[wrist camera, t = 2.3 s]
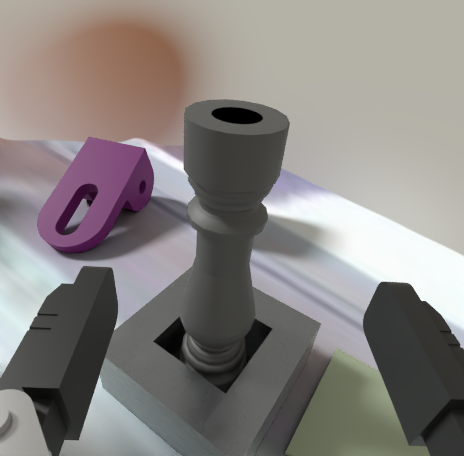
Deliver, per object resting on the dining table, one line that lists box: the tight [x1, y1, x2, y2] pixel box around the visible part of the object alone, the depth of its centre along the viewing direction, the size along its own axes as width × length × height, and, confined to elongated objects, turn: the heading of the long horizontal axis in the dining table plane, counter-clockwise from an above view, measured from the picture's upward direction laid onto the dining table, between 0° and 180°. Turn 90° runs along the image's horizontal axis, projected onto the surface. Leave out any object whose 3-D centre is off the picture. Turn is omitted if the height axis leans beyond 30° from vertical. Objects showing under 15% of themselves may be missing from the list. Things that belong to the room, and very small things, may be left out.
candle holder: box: [179, 100, 290, 394], centre depth 26 cm, size 6×6×25 cm
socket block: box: [100, 267, 321, 456], centre depth 31 cm, size 14×14×6 cm
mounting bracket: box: [37, 137, 154, 253], centre depth 51 cm, size 9×8×18 cm
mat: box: [285, 348, 430, 456], centre depth 30 cm, size 12×12×1 cm
